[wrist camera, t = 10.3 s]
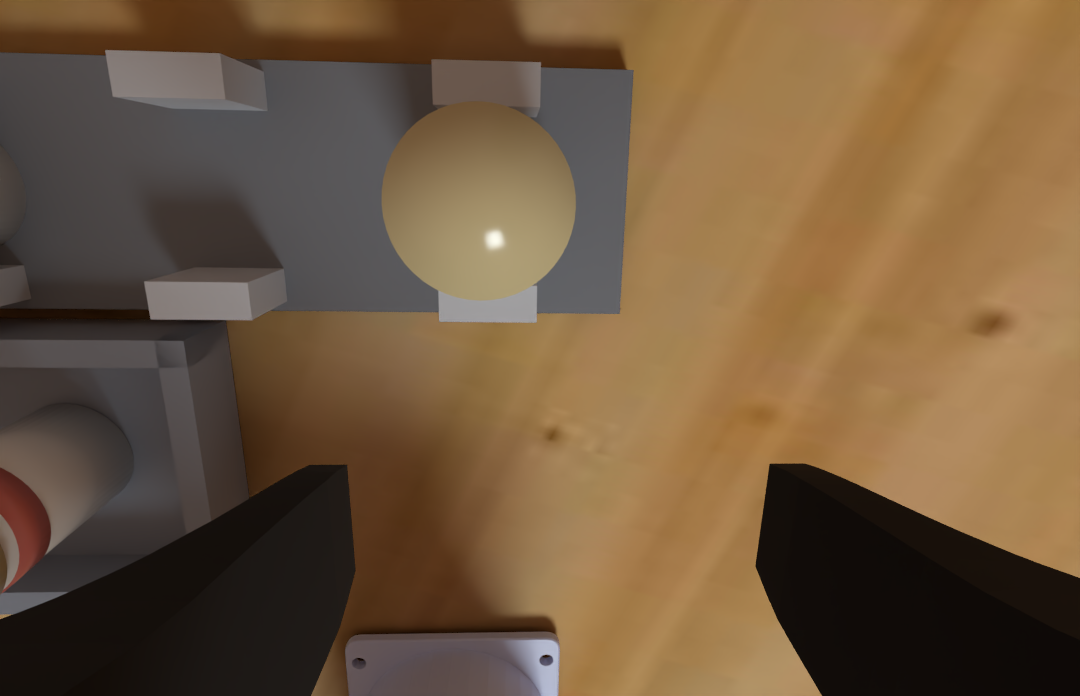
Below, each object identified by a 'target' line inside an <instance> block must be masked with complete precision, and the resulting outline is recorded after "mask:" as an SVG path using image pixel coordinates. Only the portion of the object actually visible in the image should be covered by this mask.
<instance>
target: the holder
mask: <svg viewBox="0 0 1080 696" xmlns="http://www.w3.org/2000/svg"><path fill="white" fill-rule="evenodd" d="M105 53H106V55H72V54H36V53H0V145H1V146H2V147H3V149H4V150H5V151H6V152H7V153H8V154H9V156H10V157H11V159H12V160H13V161H14V163H15V165H16V167H17V168H18V170H19V172H20V175H21V177H22V180H23V183H24V187H25V193H26V210H25V215H24V219H23V221H22V224H21V226H20V228H19V229H18V231H17V232H16V233H15V234H14V236H13V237H12V238H11V239H9V240H8V241H7V242H5V243H4V244H2V245H0V308H26V309H139V310H149V313H150V319H159V320H253V319H255V318H257V317H259V316H261V315H263V314H265V313H266V312H268V311H365V312H439V322H529V323H536V321H537V313H591V314H620V296H621V279H622V261H623V244H624V226H625V209H626V191H627V174H628V156H629V139H630V121H631V104H632V86H633V70H614V69H578V68H542V67H541V62H515V61H479V60H444V59H431V61H432V64H397V63H361V62H325V61H289V60H253V59H232V58H230V57H228V56H225V55H223V54H221V53H194V52H159V51H123V50H105ZM470 101H483V102H492V103H496V104H501V105H505V106H507V107H510V108H513V109H515V110H518V111H519V112H521V113H523V114H525V115H527V116H528V117H530V118H531V119H533V120H534V121H535V122H537V123H538V124H539V125H540V126H541V127H542V128H543V129H544V130H546V131H547V132H548V133H549V134H550V136H551V137H552V138H553V139H554V141H555V142H556V143H557V145H558V146H559V148H560V149H561V151H562V153H563V155H564V156H565V158H566V161H567V163H568V165H569V168H570V171H571V174H572V178H573V181H574V187H575V194H576V212H575V221H574V225H573V229H572V233H571V236H570V239H569V241H568V244H567V246H566V248H565V250H564V252H563V254H562V256H561V257H560V258H559V260H558V261H557V263H556V264H555V265H554V267H553V268H552V269H551V270H550V271H549V272H548V273H547V274H546V275H545V276H544V277H543V278H542V279H540V280H539V281H538V282H537V283H535V284H534V285H532V286H531V287H529V288H527V289H526V290H523V291H521V292H519V293H517V294H515V295H511V296H508V297H505V298H501V299H495V300H483V301H478V300H467V299H462V298H457V297H454V296H451V295H448V294H445V293H443V292H441V291H439V290H437V289H435V288H433V287H431V286H430V285H428V284H427V283H425V282H424V281H422V280H421V279H420V278H419V277H418V276H416V275H415V274H414V273H413V272H412V271H411V270H410V269H409V268H408V267H407V266H406V264H405V263H404V262H403V261H402V259H401V258H400V256H399V255H398V254H397V252H396V250H395V248H394V246H393V244H392V243H391V240H390V238H389V235H388V233H387V230H386V227H385V223H384V219H383V212H382V184H383V177H384V174H385V170H386V167H387V164H388V161H389V159H390V157H391V154H392V152H393V151H394V149H395V147H396V146H397V144H398V142H399V141H400V140H401V138H402V137H403V136H404V135H405V133H406V132H407V131H408V130H409V129H410V128H411V127H412V126H413V125H414V124H415V123H416V122H418V121H419V120H421V119H422V118H423V117H425V116H426V115H428V114H430V113H432V112H434V111H436V110H437V109H439V108H442V107H445V106H448V105H451V104H456V103H461V102H470Z"/></svg>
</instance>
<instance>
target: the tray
mask: <svg viewBox="0 0 1080 696" xmlns="http://www.w3.org/2000/svg"><path fill="white" fill-rule="evenodd" d="M53 404H75V405H79V406H84V407H87V408H90V409H92V410H94V411H96V412H98V413H100V414H102V415H104V416H105V417H107V418H108V419H109V420H111V421H112V422H113V423H114V424H115V425H116V426H117V427H118V428H119V429H120V430H121V431H122V432H123V434H124V435H125V437H126V438H127V440H128V442H129V444H130V447H131V449H132V453H133V457H134V469H133V474H132V477H131V479H130V481H129V483H128V484H127V486H126V487H125V488H124V489H123V490H122V491H121V492H120V493H119V494H118V495H117V496H115V497H114V498H113V499H112V500H111V501H109V502H108V503H107V504H106V505H105V506H103V507H102V508H101V509H100V510H99V511H97V512H96V513H95V514H94V515H93V516H91V517H90V518H89V519H88V520H87V521H85V522H84V523H83V524H82V525H81V526H79V527H78V528H77V529H76V530H75V531H73V532H72V533H71V534H70V535H69V536H67V537H66V538H65V539H64V540H63V541H61V542H60V543H59V544H58V545H57V546H55V547H54V548H53V549H52V550H51V551H49V552H48V553H47V554H46V555H45V556H44V557H43V558H42V560H41V561H40V562H39V563H38V564H37V565H36V566H34V567H33V568H32V569H31V570H30V571H28V572H27V573H26V574H25V575H24V576H22V577H21V578H20V579H19V580H18V581H16V582H15V583H14V584H13V585H12V586H11V587H9V588H8V589H7V590H6V591H4V592H3V593H2V594H1V595H0V614H16V613H18V612H21V611H24V610H26V609H29V608H31V607H34V606H37V605H39V604H42V603H44V602H47V601H49V600H52V599H54V598H56V597H59V596H61V595H63V594H66V593H68V592H70V591H72V590H75V589H77V588H79V587H81V586H84V585H86V584H88V583H90V582H92V581H95V580H97V579H99V578H101V577H104V576H106V575H108V574H110V573H112V572H114V571H117V570H119V569H121V568H123V567H125V566H127V565H129V564H131V563H133V562H135V561H137V560H139V559H141V558H143V557H145V556H147V555H149V554H151V553H153V552H155V551H157V550H158V549H160V548H162V547H164V546H166V545H168V544H170V543H171V542H173V541H175V540H177V539H179V538H181V537H182V536H184V535H186V534H188V533H190V532H192V531H194V530H195V529H197V528H199V527H201V526H203V525H205V524H207V523H208V522H210V521H212V520H214V519H216V518H217V517H219V516H221V515H222V514H224V513H226V512H227V511H229V510H231V509H233V508H234V507H236V506H238V505H239V504H241V503H243V502H244V501H246V500H248V499H249V492H248V484H247V477H246V469H245V461H244V454H243V446H242V439H241V431H240V424H239V416H238V409H237V401H236V394H235V386H234V379H233V371H232V364H231V356H230V349H229V341H228V334H227V326H226V320H157V319H34V318H0V429H1V428H3V427H5V426H7V425H9V424H11V423H13V422H15V421H17V420H19V419H21V418H23V417H25V416H27V415H28V414H30V413H32V412H34V411H36V410H38V409H40V408H43V407H45V406H49V405H53Z"/></svg>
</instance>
